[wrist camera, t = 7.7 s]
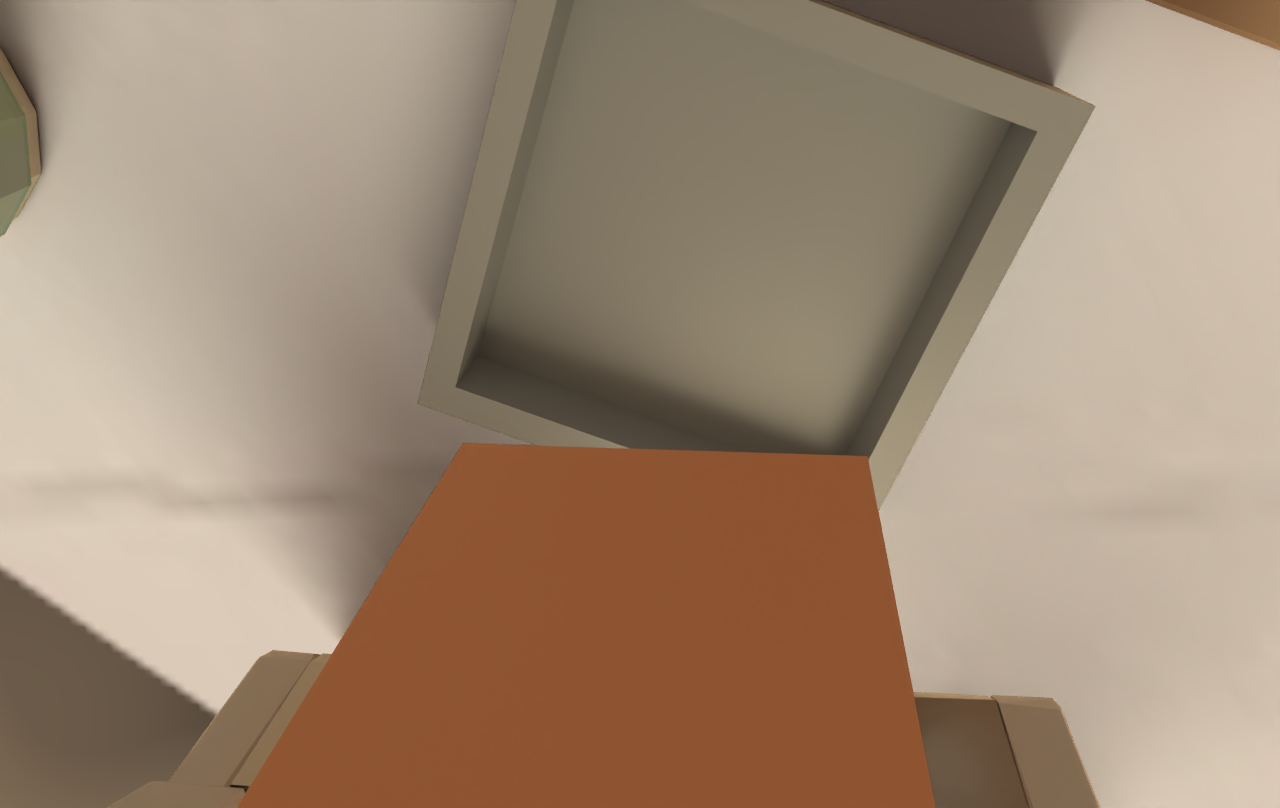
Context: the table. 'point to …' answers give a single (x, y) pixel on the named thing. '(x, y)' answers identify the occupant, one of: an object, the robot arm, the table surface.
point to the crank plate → (1234, 16)
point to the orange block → (620, 644)
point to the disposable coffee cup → (16, 146)
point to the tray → (735, 228)
